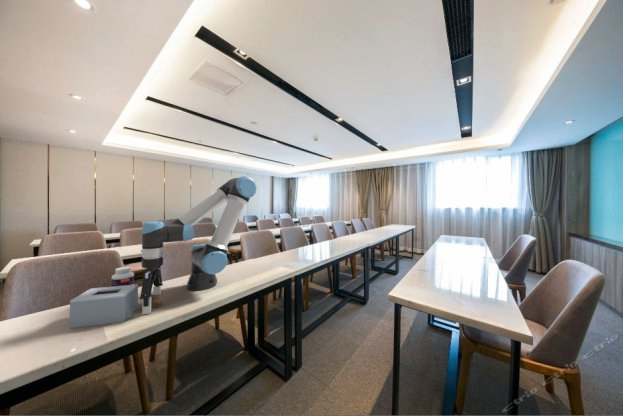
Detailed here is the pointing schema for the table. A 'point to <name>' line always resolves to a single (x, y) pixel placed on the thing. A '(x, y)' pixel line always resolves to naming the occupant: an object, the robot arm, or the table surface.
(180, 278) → the table surface
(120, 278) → the pill bottle
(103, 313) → the box
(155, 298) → the token
